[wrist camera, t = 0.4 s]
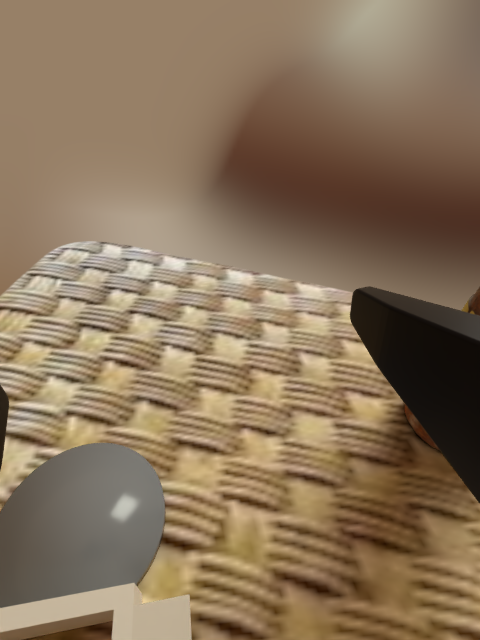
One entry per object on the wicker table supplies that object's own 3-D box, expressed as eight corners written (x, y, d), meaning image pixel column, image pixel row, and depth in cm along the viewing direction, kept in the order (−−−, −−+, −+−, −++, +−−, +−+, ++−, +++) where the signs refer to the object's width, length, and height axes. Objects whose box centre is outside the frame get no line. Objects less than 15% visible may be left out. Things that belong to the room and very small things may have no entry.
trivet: (166, 609, 17) (165, 607, 16) (-37, 651, 15) (-46, 650, 15) (164, 440, 23) (163, 435, 23) (21, 458, 22) (16, 452, 21)
